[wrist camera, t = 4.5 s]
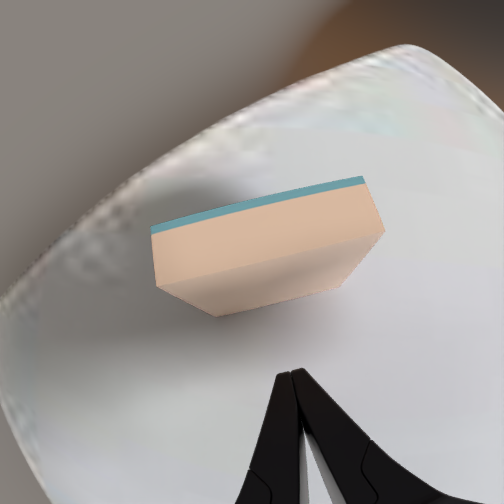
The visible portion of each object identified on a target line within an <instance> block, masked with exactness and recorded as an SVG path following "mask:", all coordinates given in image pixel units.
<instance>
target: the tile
mask: <svg viewBox="0 0 504 504" xmlns="http://www.w3.org/2000/svg"><path fill="white" fill-rule="evenodd" d="M150 227H151V239H152V251H153V261H154V270H155V279H156V287H158V288H160V289H162V290H164V291H166V292H168V293H169V294H171V295H173V296H175V297H177V298H179V299H181V300H183V301H185V302H187V303H189V304H191V305H192V306H194V307H196V308H198V309H200V310H202V311H204V312H206V313H208V314H210V315H212V316H214V317H219V316H223V315H228V314H232V313H237V312H241V311H246V310H250V309H255V308H259V307H263V306H267V305H272V304H276V303H280V302H284V301H288V300H292V299H296V298H300V297H304V296H308V295H311V294H315V293H319V292H323V291H327V290H330V289H334V288H338V287H340V286H341V284H342V283H343V282H344V281H345V280H346V279H347V277H348V276H349V275H350V274H351V273H352V272H353V270H354V269H355V268H356V267H357V266H358V264H359V263H360V262H361V261H362V260H363V258H364V257H365V256H366V255H367V253H368V252H369V251H370V250H371V249H372V247H373V246H374V245H375V244H376V242H377V241H378V240H379V238H380V237H381V236H382V235H383V233H384V232H385V229H384V226H383V223H382V221H381V218H380V216H379V213H378V211H377V209H376V206H375V204H374V201H373V199H372V197H371V194H370V192H369V190H368V187H367V185H366V183H365V181H364V179H363V176H358V177H353V178H348V179H343V180H338V181H333V182H328V183H323V184H318V185H313V186H308V187H304V188H299V189H295V190H290V191H286V192H281V193H277V194H273V195H268V196H264V197H260V198H256V199H251V200H247V201H243V202H239V203H235V204H231V205H227V206H223V207H219V208H215V209H211V210H208V211H204V212H200V213H196V214H193V215H189V216H185V217H182V218H178V219H174V220H171V221H167V222H164V223H160V224H157V225H153V226H150Z"/></svg>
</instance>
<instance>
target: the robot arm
mask: <svg viewBox="0 0 504 504" xmlns="http://www.w3.org/2000/svg"><path fill="white" fill-rule="evenodd" d="M302 424H303V425H302ZM303 428H304V430H303ZM304 432H305V435H306V438H307V440H308V443H309V445H310V448H311V450H312V453H313V456H314V458H315V461H316V463H317V466H318V468H319V471H320V473H321V476H322V478H323V481H324V483H325V486H326V488H327V491H328V493H329V496H330V498H331V501H332V503H333V504H483V503H478V502H473V501H469V500H464V499H460V498H456V497H452V496H449V495H447V494H444V493H442V492H440V491H438V490H436V489H435V488H433V487H431V486H430V485H428V484H427V483H425V482H424V481H422V480H421V479H419V478H418V477H417V476H415V475H414V474H412V473H411V472H409V471H408V470H406V469H405V468H404V467H402V466H401V465H400V464H398V463H397V462H396V461H395V460H393V459H392V458H391V457H390V456H389V455H388V454H386V453H385V452H384V451H383V450H382V449H381V448H380V447H379V446H378V445H377V444H376V443H375V442H374V441H373V440H370V437H369V436H368V435H367V434H366V433H365V432H364V431H363V430H362V429H361V428H360V427H359V426H358V425H357V424H356V423H355V422H354V421H353V420H352V419H351V418H350V417H349V416H348V415H347V413H346V412H345V411H344V410H343V409H342V408H341V407H340V406H339V405H338V404H337V403H336V402H335V401H334V400H333V399H332V398H331V397H330V396H329V395H328V393H327V392H326V391H325V390H324V389H323V388H322V387H321V386H320V385H319V384H318V383H317V382H316V381H315V379H314V378H313V377H312V376H311V375H310V374H309V373H308V372H307V371H306V370H305V369H304V368H299V369H295V370H292V371H291V373H290V372H289V371H287V372H283V373H279V374H277V375H276V378H275V382H274V386H273V389H272V393H271V396H270V400H269V403H268V407H267V410H266V414H265V417H264V421H263V424H262V427H261V431H260V434H259V437H258V441H257V444H256V447H255V450H254V453H253V457H252V460H251V463H250V466H249V470H248V472H247V475H246V478H245V481H244V483H243V486H242V488H241V491H240V493H239V496H238V498H237V500H236V502H235V504H309V490H308V475H307V461H306V448H305V436H304Z"/></svg>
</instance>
